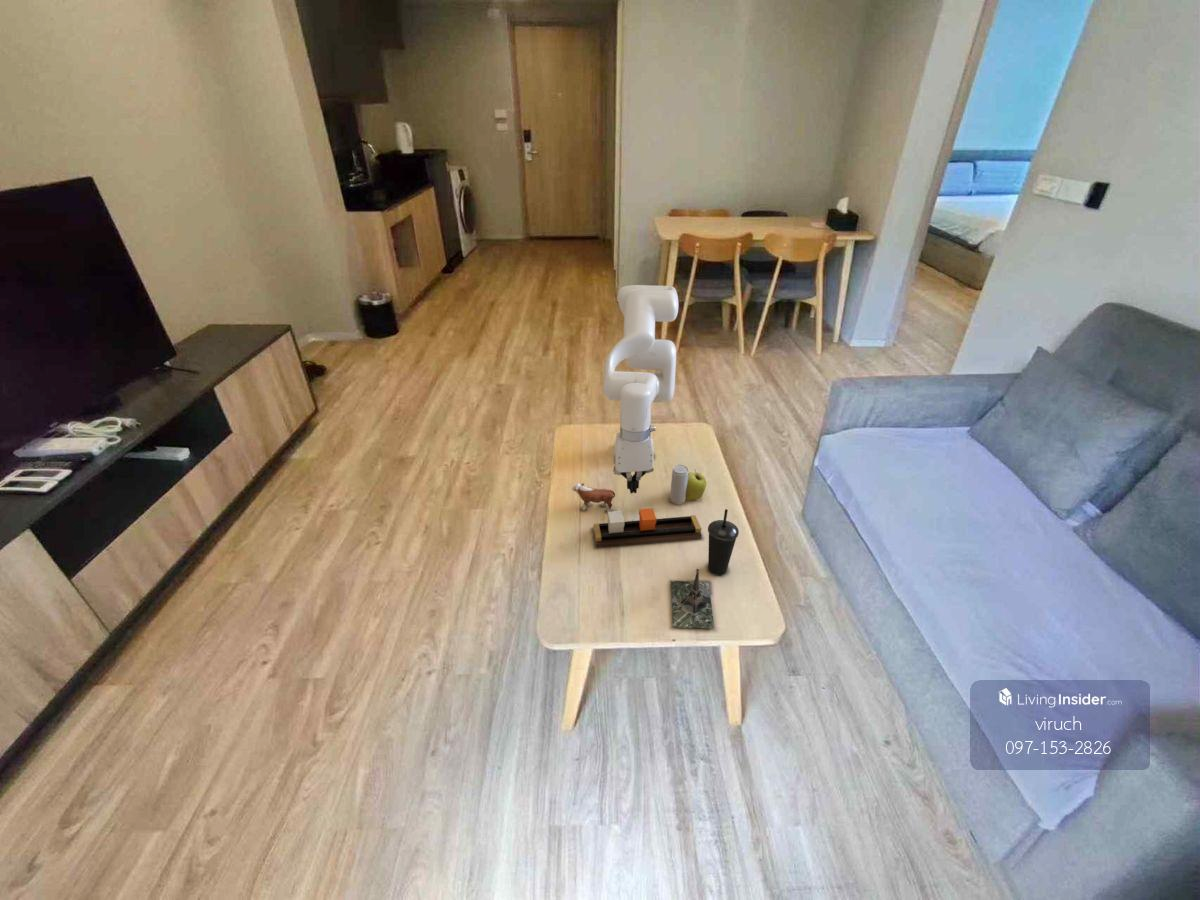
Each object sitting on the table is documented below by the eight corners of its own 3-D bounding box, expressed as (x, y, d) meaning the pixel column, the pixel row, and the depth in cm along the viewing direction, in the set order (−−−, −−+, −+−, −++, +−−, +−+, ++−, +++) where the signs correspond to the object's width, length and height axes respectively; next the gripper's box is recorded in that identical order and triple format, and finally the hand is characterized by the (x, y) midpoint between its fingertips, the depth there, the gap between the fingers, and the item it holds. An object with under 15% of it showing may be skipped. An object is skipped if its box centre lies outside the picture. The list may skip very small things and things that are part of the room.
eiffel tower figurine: (669, 581, 139) (672, 542, 132) (708, 582, 138) (714, 543, 131) (672, 628, 126) (676, 588, 119) (715, 630, 126) (722, 590, 118)
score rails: (593, 527, 154) (593, 523, 154) (695, 519, 157) (695, 515, 157) (596, 541, 149) (596, 537, 149) (700, 532, 152) (701, 528, 152)
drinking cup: (697, 563, 144) (704, 505, 133) (721, 555, 147) (730, 497, 136) (713, 582, 138) (722, 523, 127) (737, 574, 141) (748, 515, 130)
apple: (671, 493, 169) (681, 465, 165) (688, 490, 174) (697, 463, 170) (689, 506, 163) (699, 477, 160) (706, 503, 168) (716, 475, 165)
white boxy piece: (607, 526, 154) (607, 511, 151) (621, 525, 155) (621, 510, 152) (610, 538, 150) (610, 523, 147) (624, 537, 151) (624, 521, 148)
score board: (593, 529, 156) (593, 525, 155) (693, 520, 159) (694, 516, 158) (596, 548, 149) (596, 544, 149) (701, 538, 152) (701, 534, 152)
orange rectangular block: (638, 524, 155) (639, 509, 152) (652, 523, 156) (652, 507, 153) (641, 535, 151) (642, 520, 148) (655, 534, 151) (656, 519, 148)
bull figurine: (573, 500, 168) (572, 479, 163) (615, 506, 165) (616, 484, 161) (570, 509, 164) (569, 488, 160) (613, 514, 162) (613, 493, 157)
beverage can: (684, 506, 165) (687, 474, 158) (668, 503, 166) (671, 472, 160) (686, 497, 169) (689, 465, 162) (671, 494, 170) (673, 463, 163)
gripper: (660, 422, 139) (656, 480, 149) (603, 426, 138) (603, 484, 147) (667, 436, 133) (662, 496, 142) (607, 440, 131) (607, 500, 141)
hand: (632, 490), depth 145 cm, fingers closed
